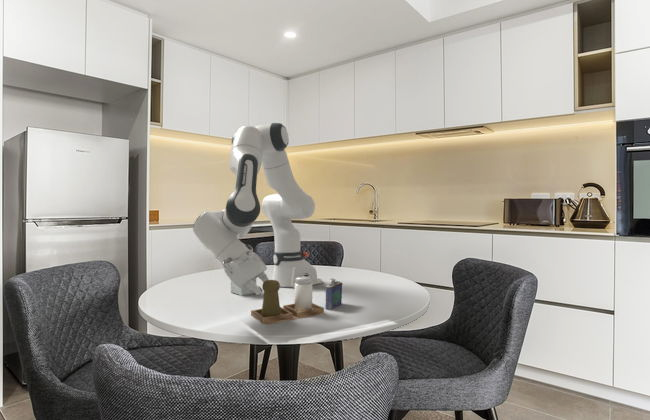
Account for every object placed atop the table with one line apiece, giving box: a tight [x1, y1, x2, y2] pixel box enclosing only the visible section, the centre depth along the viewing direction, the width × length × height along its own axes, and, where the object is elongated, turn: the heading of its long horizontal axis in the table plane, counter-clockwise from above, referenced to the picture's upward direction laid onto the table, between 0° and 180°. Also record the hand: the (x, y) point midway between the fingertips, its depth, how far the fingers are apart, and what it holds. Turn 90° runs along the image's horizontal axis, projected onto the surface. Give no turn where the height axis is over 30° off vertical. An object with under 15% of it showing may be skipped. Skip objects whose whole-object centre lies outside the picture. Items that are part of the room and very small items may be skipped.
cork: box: [261, 279, 281, 317], centre depth 121 cm, size 6×6×11 cm
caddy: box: [250, 302, 326, 325], centre depth 124 cm, size 20×11×3 cm, turn 123°
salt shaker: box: [294, 276, 313, 312], centre depth 126 cm, size 6×6×11 cm
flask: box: [324, 277, 343, 311], centre depth 133 cm, size 9×3×11 cm, turn 151°
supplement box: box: [230, 278, 257, 296], centre depth 157 cm, size 7×7×13 cm
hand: (265, 289), depth 121 cm, fingers open, 8 cm apart
